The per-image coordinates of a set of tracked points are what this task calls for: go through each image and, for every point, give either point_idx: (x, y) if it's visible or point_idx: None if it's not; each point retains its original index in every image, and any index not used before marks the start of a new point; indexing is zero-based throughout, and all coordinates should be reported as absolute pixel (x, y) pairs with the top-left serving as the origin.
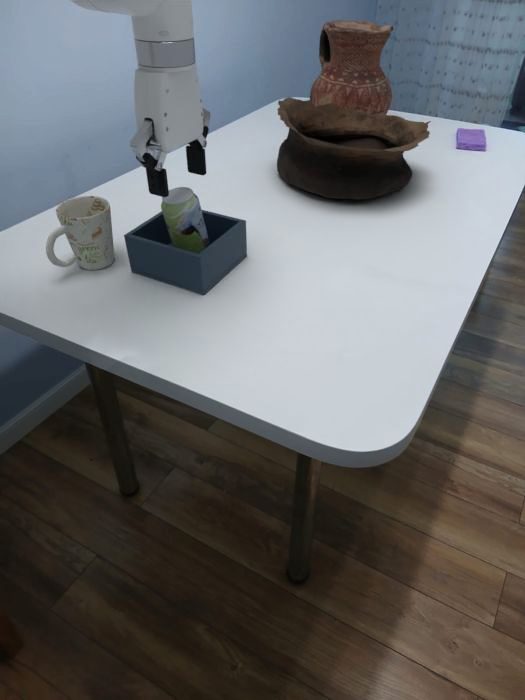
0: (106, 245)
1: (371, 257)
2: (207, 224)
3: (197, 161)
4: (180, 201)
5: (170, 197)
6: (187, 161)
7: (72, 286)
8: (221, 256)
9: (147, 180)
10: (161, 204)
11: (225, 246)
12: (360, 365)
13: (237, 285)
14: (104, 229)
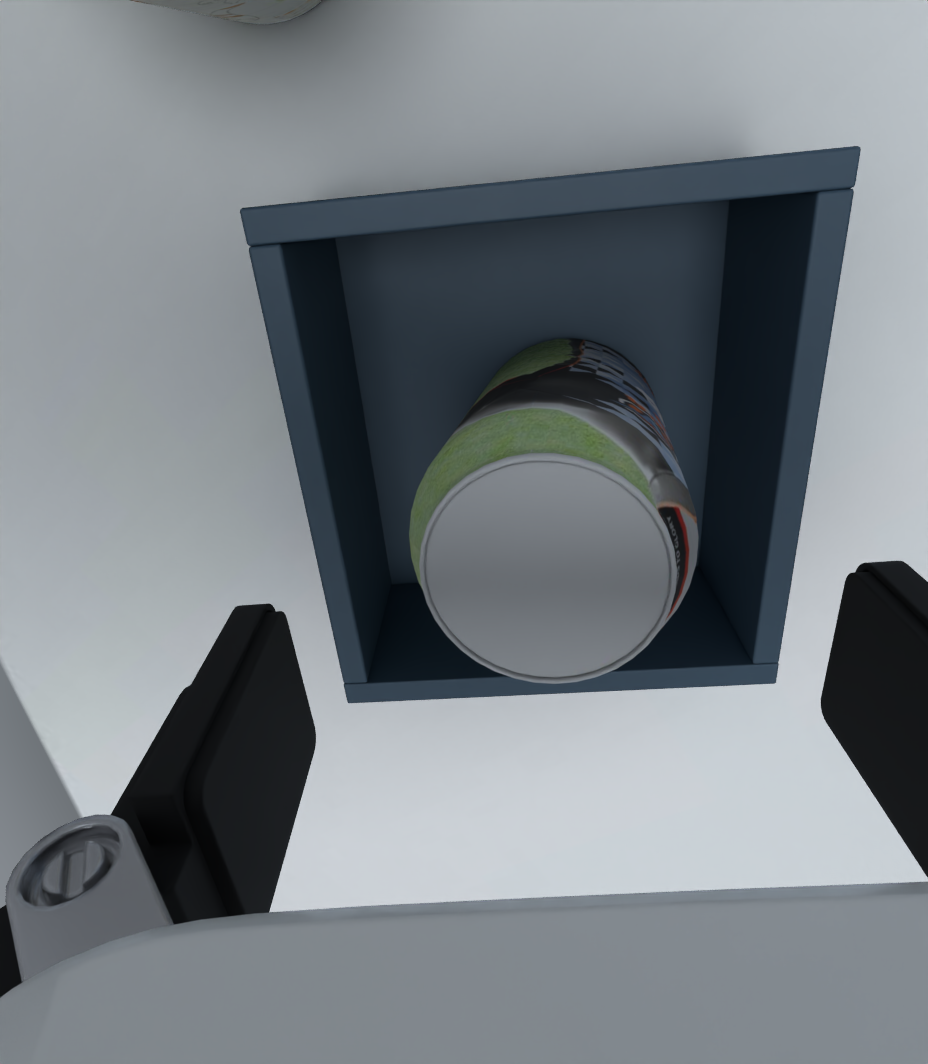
0: (222, 15)
1: (875, 875)
2: (752, 439)
3: (896, 757)
4: (474, 644)
5: (496, 540)
6: (912, 633)
7: (5, 13)
8: None
9: (199, 671)
10: (455, 452)
11: None
12: None
13: None
14: (177, 2)
